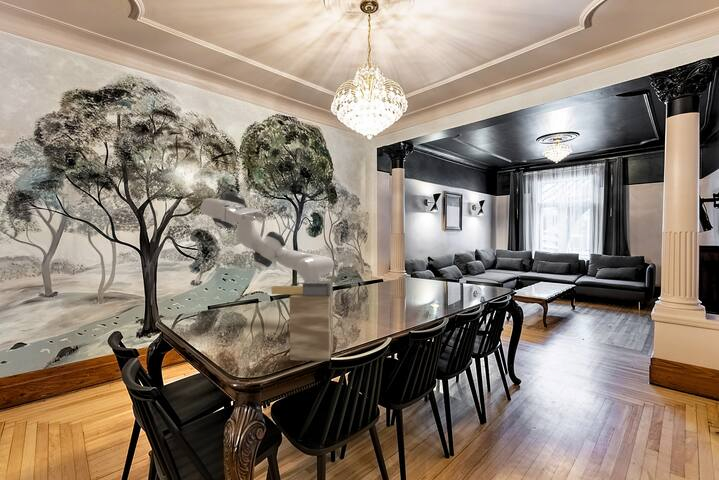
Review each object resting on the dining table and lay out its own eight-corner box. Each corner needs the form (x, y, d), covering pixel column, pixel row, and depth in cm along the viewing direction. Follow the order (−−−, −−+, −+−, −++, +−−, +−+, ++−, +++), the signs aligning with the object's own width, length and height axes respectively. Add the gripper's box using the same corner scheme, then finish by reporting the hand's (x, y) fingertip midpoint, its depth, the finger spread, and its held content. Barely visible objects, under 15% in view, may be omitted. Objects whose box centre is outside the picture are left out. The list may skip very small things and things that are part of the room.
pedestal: (297, 349, 143) (297, 291, 143) (333, 350, 142) (332, 291, 142) (290, 360, 131) (289, 297, 131) (328, 360, 130) (328, 297, 130)
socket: (307, 292, 140) (306, 280, 140) (332, 292, 139) (332, 280, 139) (302, 296, 132) (302, 283, 132) (329, 296, 132) (329, 283, 132)
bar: (273, 292, 139) (273, 285, 139) (328, 293, 137) (328, 286, 137) (271, 294, 136) (271, 287, 136) (327, 294, 134) (327, 287, 134)
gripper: (245, 216, 158) (270, 221, 156) (218, 221, 139) (247, 227, 136) (246, 203, 157) (272, 208, 154) (219, 207, 137) (248, 213, 135)
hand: (260, 217), depth 145 cm, fingers open, 8 cm apart
